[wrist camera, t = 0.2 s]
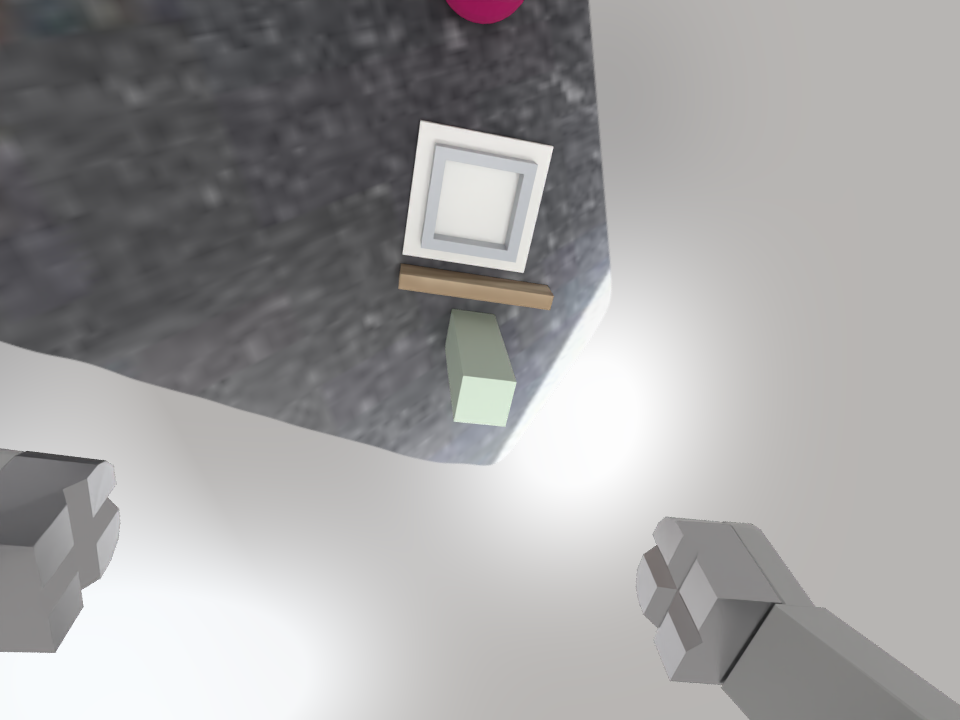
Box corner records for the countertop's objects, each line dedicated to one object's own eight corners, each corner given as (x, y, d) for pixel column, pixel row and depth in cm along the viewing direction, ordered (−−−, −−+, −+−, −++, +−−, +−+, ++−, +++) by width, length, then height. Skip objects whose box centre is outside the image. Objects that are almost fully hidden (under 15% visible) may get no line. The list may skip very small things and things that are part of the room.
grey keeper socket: (420, 119, 50) (421, 123, 48) (551, 145, 52) (558, 150, 50) (402, 251, 55) (402, 261, 53) (521, 269, 58) (527, 279, 55)
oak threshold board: (401, 263, 56) (400, 273, 53) (547, 285, 59) (553, 296, 56) (399, 277, 57) (398, 288, 54) (543, 298, 59) (550, 310, 57)
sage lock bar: (452, 308, 59) (463, 375, 47) (494, 314, 60) (516, 381, 47) (444, 347, 61) (453, 421, 49) (486, 352, 62) (505, 426, 49)
